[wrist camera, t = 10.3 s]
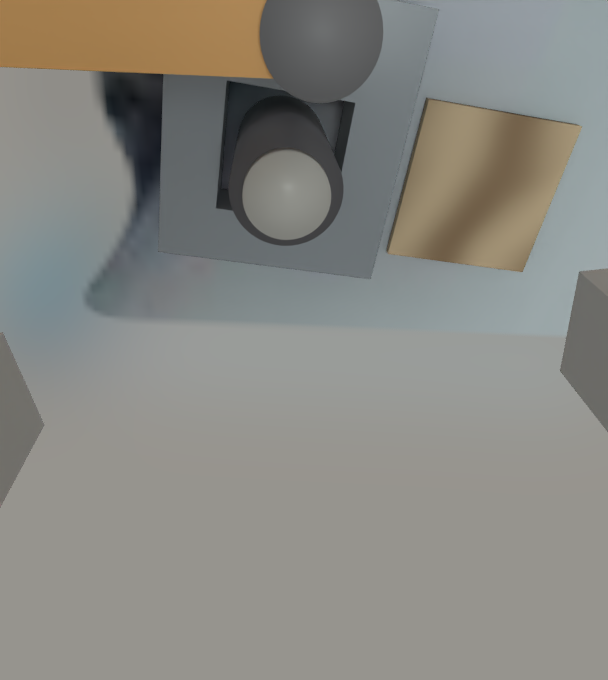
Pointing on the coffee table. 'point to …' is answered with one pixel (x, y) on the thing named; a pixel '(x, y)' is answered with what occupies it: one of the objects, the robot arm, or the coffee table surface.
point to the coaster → (479, 185)
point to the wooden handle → (202, 39)
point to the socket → (351, 155)
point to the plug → (284, 173)
